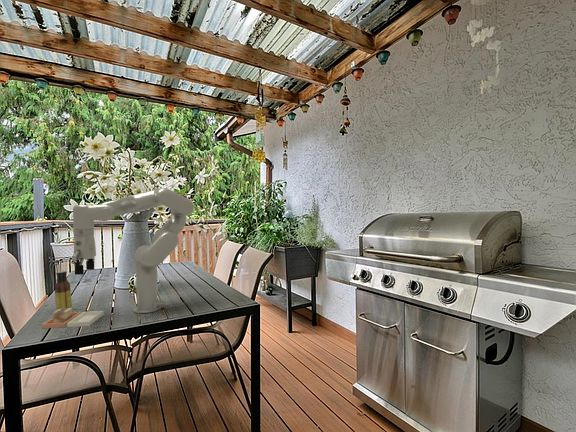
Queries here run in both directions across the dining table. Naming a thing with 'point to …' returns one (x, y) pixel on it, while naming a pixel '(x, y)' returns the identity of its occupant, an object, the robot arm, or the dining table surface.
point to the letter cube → (62, 315)
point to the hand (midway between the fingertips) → (85, 271)
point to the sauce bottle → (62, 291)
